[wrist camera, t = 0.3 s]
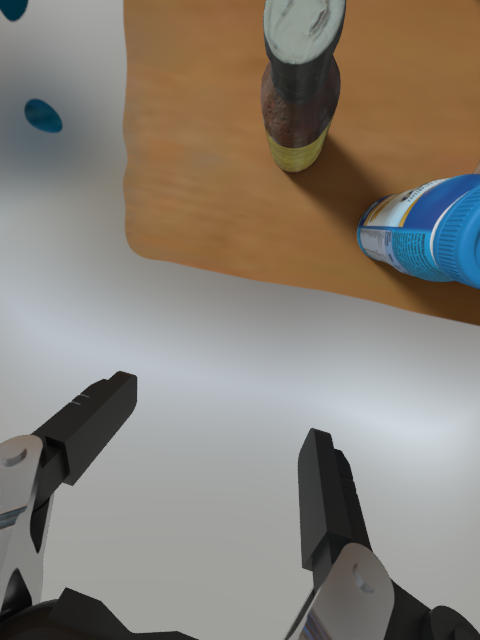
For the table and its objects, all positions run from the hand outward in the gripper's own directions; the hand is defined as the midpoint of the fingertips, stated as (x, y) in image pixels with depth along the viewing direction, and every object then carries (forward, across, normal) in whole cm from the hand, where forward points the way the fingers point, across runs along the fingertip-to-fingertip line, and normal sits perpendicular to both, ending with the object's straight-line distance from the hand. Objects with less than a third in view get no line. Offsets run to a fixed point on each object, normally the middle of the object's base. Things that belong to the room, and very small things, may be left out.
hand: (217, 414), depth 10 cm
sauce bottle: (+29, +1, -17) cm, 34 cm away
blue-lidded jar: (+29, -14, -10) cm, 34 cm away
